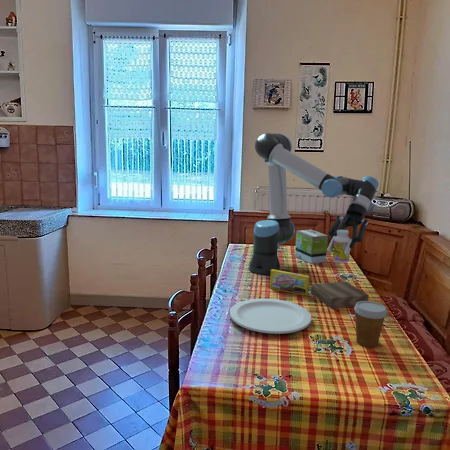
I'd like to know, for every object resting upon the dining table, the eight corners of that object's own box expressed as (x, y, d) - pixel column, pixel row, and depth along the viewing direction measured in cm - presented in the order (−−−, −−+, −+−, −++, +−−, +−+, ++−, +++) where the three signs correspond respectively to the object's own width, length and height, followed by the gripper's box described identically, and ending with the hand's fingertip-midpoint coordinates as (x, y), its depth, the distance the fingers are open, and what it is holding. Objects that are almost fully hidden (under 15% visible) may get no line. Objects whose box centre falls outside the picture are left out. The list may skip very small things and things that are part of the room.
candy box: (269, 288, 174) (270, 270, 173) (271, 287, 176) (272, 268, 174) (306, 296, 167) (308, 276, 165) (308, 294, 169) (309, 275, 167)
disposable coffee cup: (358, 332, 135) (361, 298, 133) (387, 342, 129) (391, 306, 127) (346, 343, 128) (349, 306, 126) (376, 353, 122) (381, 315, 120)
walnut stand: (330, 308, 155) (331, 298, 154) (310, 293, 170) (311, 284, 169) (367, 305, 159) (368, 295, 158) (345, 290, 174) (345, 281, 174)
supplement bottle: (329, 259, 174) (331, 229, 172) (343, 258, 176) (345, 228, 173) (338, 264, 168) (340, 233, 165) (352, 262, 170) (354, 232, 167)
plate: (224, 333, 132) (224, 327, 132) (234, 301, 159) (234, 295, 159) (313, 342, 128) (314, 335, 128) (308, 307, 156) (309, 301, 155)
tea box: (294, 256, 225) (295, 230, 222) (309, 255, 230) (311, 228, 227) (310, 264, 212) (312, 236, 209) (326, 262, 216) (328, 234, 213)
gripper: (382, 216, 173) (362, 262, 164) (339, 210, 186) (318, 252, 177) (378, 205, 168) (357, 251, 160) (334, 200, 181) (313, 242, 172)
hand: (337, 252), depth 168 cm, fingers closed on supplement bottle, 7 cm apart
